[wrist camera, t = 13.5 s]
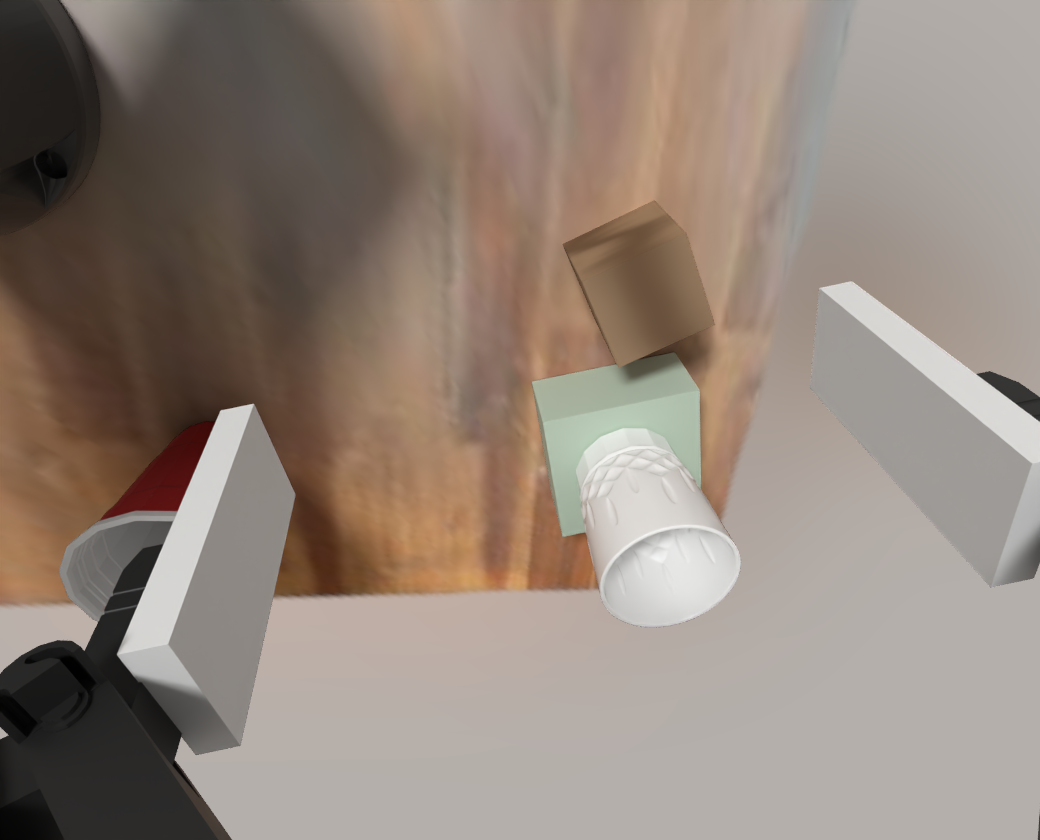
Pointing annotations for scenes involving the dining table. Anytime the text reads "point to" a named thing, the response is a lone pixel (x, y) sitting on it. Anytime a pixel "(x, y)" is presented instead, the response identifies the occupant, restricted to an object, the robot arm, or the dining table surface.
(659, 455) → the white cup
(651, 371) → the base block
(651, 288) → the walnut cube
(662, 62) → the dining table surface
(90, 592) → the plastic cup
